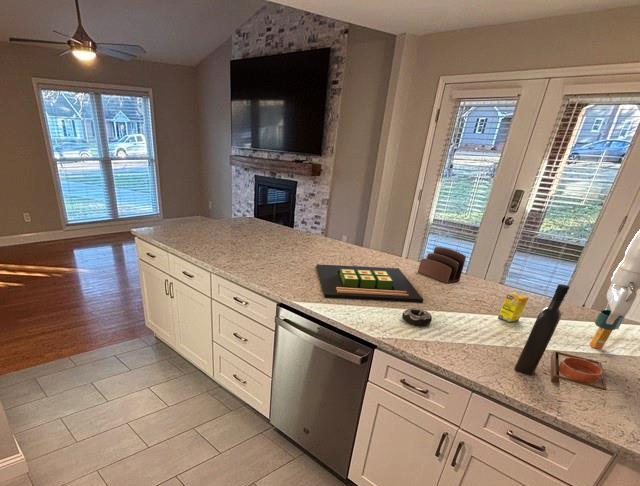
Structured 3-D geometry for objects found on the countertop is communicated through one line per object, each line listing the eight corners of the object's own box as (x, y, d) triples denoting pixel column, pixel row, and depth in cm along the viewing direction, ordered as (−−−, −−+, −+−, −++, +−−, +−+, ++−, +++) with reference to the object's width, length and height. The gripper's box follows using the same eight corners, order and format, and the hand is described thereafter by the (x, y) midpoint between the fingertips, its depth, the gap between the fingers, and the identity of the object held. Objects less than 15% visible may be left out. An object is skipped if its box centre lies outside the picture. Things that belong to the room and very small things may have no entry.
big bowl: (593, 376, 139) (601, 363, 137) (596, 391, 131) (604, 378, 128) (555, 366, 144) (562, 354, 141) (556, 381, 136) (562, 368, 133)
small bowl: (616, 325, 139) (623, 312, 137) (618, 332, 134) (625, 319, 132) (593, 320, 142) (599, 308, 139) (594, 327, 137) (600, 314, 135)
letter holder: (429, 270, 231) (436, 244, 223) (459, 281, 217) (468, 254, 209) (417, 272, 227) (423, 246, 219) (447, 283, 213) (455, 256, 205)
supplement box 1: (497, 318, 178) (506, 293, 172) (506, 315, 180) (515, 292, 174) (509, 323, 173) (519, 299, 167) (518, 321, 176) (529, 296, 170)
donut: (432, 329, 166) (435, 319, 164) (402, 325, 168) (404, 316, 166) (428, 317, 176) (430, 308, 173) (400, 314, 177) (402, 305, 175)
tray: (597, 368, 144) (600, 362, 143) (602, 395, 130) (606, 389, 128) (550, 356, 150) (553, 350, 149) (550, 381, 135) (554, 375, 134)
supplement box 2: (602, 349, 157) (616, 325, 151) (593, 348, 157) (606, 324, 152) (598, 345, 159) (611, 321, 154) (588, 344, 160) (601, 320, 154)
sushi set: (324, 297, 190) (325, 288, 187) (316, 267, 227) (317, 259, 225) (422, 302, 189) (424, 293, 187) (397, 271, 227) (399, 263, 225)
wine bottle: (535, 370, 141) (576, 286, 125) (531, 376, 138) (573, 290, 121) (517, 364, 144) (555, 281, 128) (513, 370, 141) (551, 285, 124)
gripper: (648, 290, 121) (622, 333, 128) (638, 272, 135) (616, 311, 143) (621, 285, 123) (598, 327, 131) (614, 268, 138) (594, 307, 146)
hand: (607, 319), depth 137 cm, fingers closed on small bowl, 6 cm apart
